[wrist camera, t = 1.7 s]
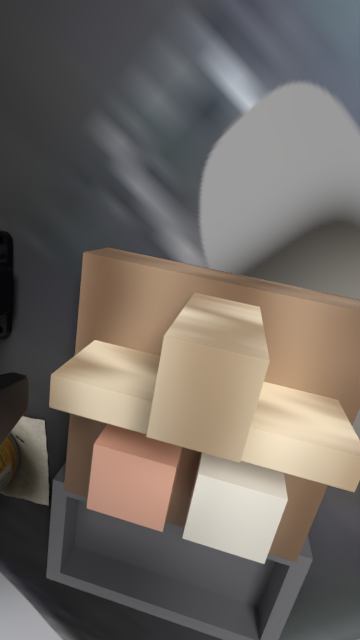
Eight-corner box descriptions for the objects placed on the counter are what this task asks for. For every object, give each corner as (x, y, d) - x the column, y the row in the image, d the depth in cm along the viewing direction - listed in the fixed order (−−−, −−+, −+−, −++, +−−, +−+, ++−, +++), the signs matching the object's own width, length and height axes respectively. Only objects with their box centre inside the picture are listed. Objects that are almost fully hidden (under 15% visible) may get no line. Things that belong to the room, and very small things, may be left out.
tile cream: (190, 497, 18) (182, 538, 16) (204, 438, 17) (198, 473, 15) (261, 519, 18) (264, 564, 15) (281, 460, 17) (287, 499, 14)
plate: (86, 456, 23) (63, 490, 20) (108, 247, 18) (83, 252, 15) (289, 516, 21) (296, 562, 18) (370, 302, 16) (396, 318, 14)
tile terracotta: (106, 472, 19) (86, 508, 17) (113, 414, 18) (93, 443, 15) (173, 492, 18) (162, 532, 16) (185, 433, 17) (176, 467, 15)
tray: (64, 545, 26) (46, 578, 23) (72, 452, 23) (53, 479, 21) (268, 613, 24) (271, 656, 21) (304, 521, 21) (312, 559, 19)
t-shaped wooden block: (92, 366, 17) (17, 437, 11) (101, 272, 16) (20, 301, 10) (327, 427, 16) (375, 543, 10) (364, 329, 14) (445, 402, 8)
